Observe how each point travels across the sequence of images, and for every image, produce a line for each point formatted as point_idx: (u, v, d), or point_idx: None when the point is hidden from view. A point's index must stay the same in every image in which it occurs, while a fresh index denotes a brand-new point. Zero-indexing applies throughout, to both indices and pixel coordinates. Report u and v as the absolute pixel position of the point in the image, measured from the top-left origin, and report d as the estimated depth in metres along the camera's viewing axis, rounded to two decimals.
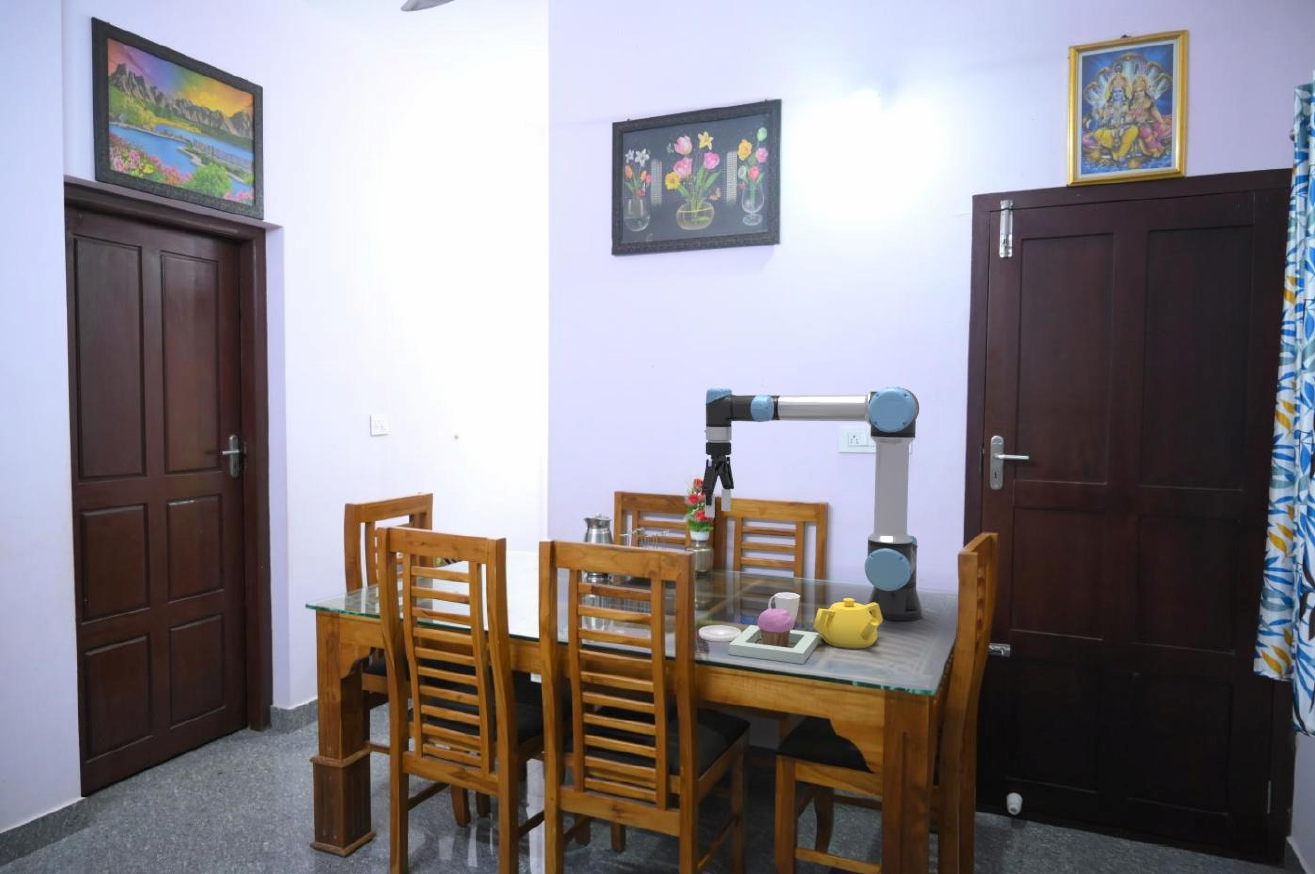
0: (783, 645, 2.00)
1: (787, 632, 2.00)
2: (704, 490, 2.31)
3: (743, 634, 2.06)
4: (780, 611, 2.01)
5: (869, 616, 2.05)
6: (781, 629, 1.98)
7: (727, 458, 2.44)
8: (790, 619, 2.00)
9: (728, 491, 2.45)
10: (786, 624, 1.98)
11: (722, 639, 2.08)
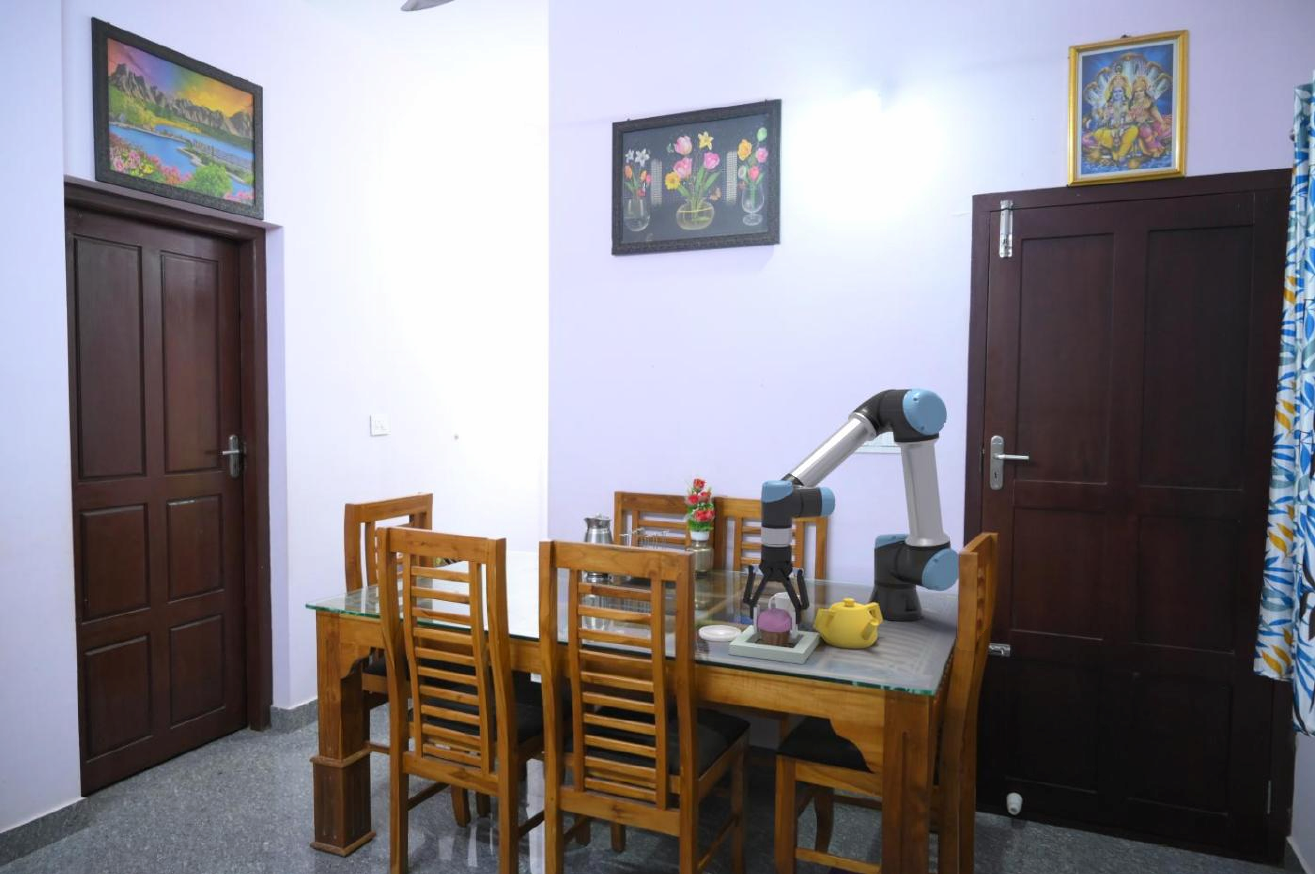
0: (783, 645, 2.00)
1: (787, 632, 2.00)
2: None
3: (743, 634, 2.06)
4: (780, 611, 2.01)
5: (869, 616, 2.05)
6: (781, 629, 1.98)
7: (798, 570, 1.99)
8: (790, 619, 2.00)
9: None
10: (786, 624, 1.98)
11: (722, 639, 2.08)
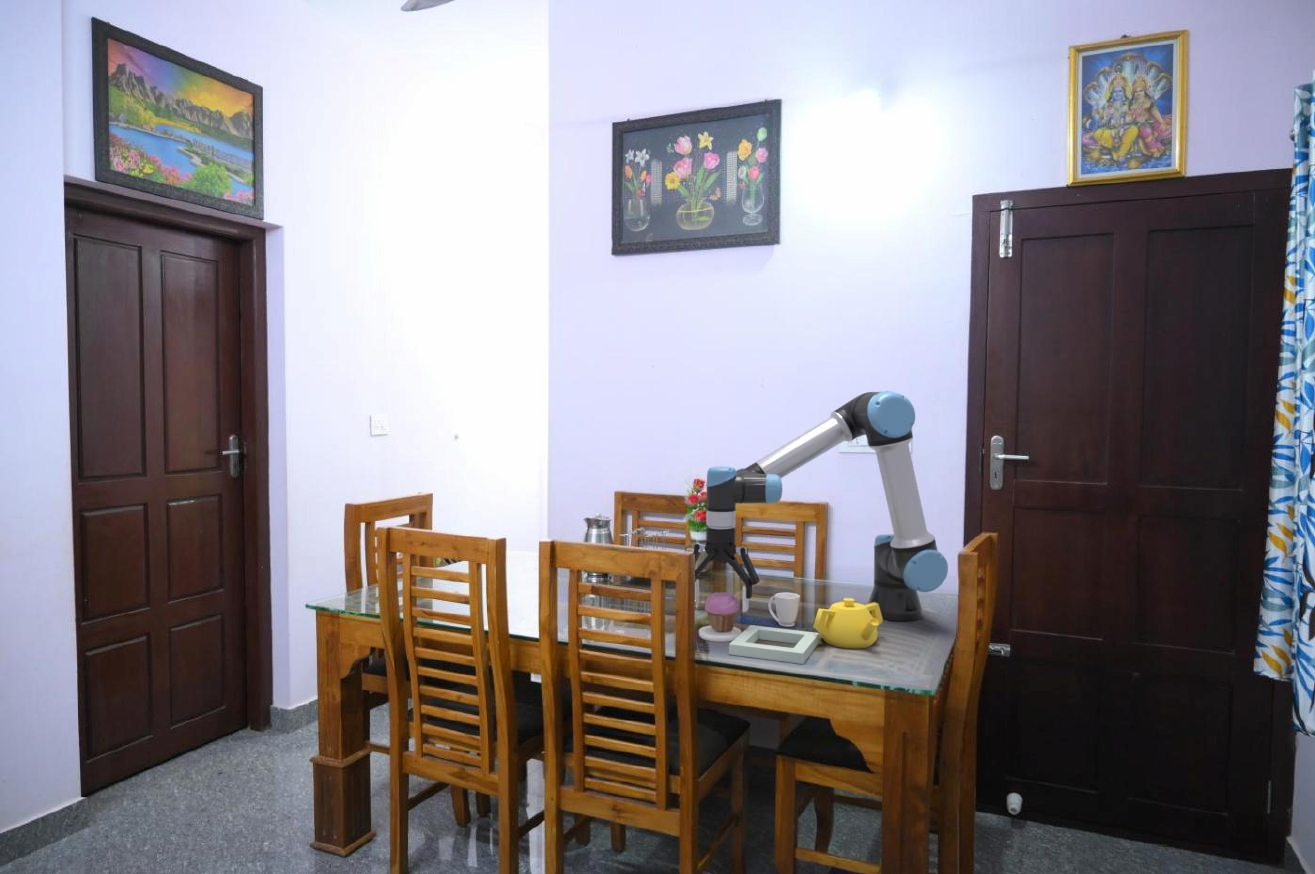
0: (728, 627, 2.11)
1: (732, 614, 2.11)
2: None
3: (743, 634, 2.06)
4: (726, 595, 2.11)
5: (869, 616, 2.05)
6: (725, 611, 2.09)
7: None
8: (735, 602, 2.10)
9: None
10: (730, 606, 2.09)
11: (722, 639, 2.08)
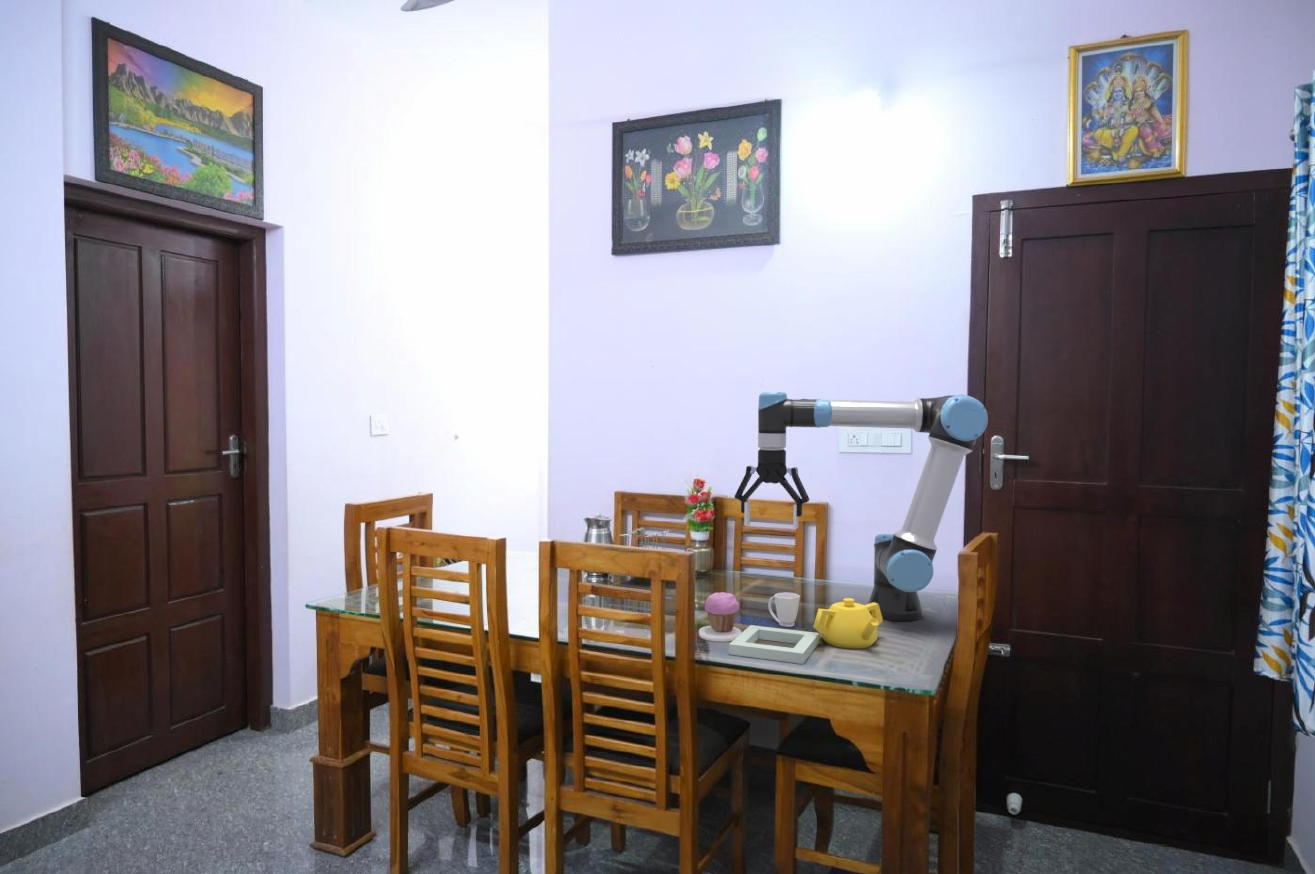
0: (728, 627, 2.11)
1: (732, 614, 2.11)
2: None
3: (743, 634, 2.06)
4: (725, 595, 2.11)
5: (869, 616, 2.05)
6: (725, 611, 2.09)
7: None
8: (735, 602, 2.10)
9: None
10: (730, 606, 2.09)
11: (722, 639, 2.08)
